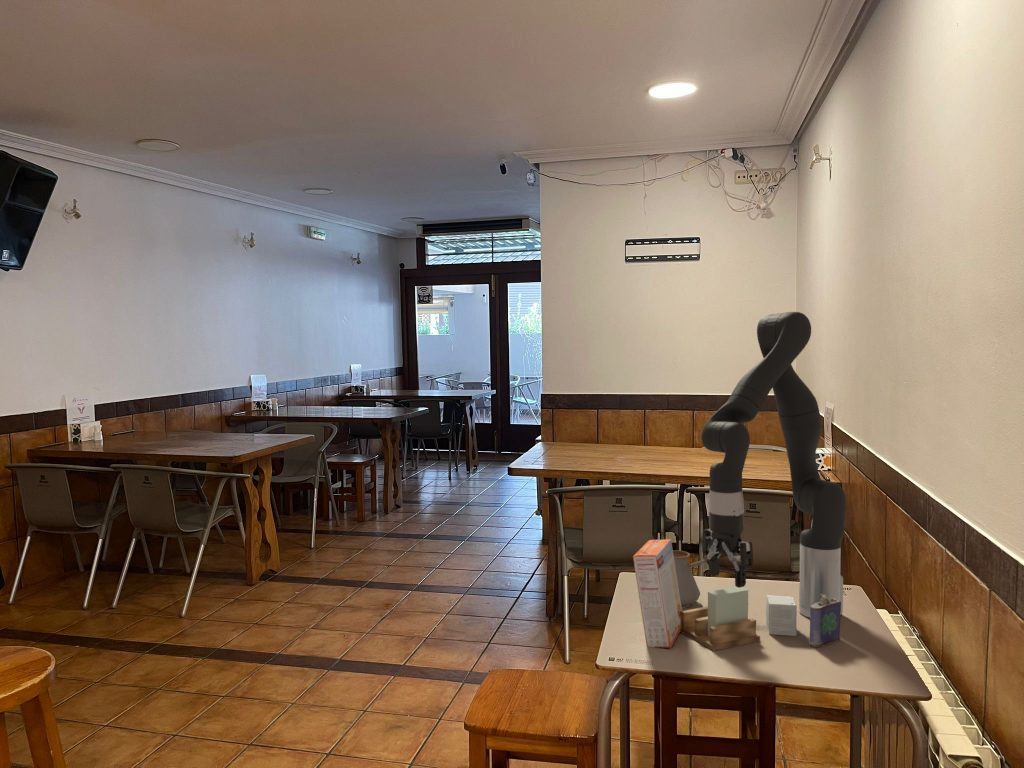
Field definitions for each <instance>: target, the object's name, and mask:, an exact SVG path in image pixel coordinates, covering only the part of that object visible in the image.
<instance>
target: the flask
mask: <svg viewBox="0 0 1024 768" xmlns="http://www.w3.org/2000/svg"><path fill="white" fill-rule="evenodd" d="M820 595H821V596H822V595H823V596H822V598H821V601H820V602H818V603H815V604H813V605H811V606H810V618H809V646H810V647H813V648H815V649H817V648H823V646H827V645H828V646H829V645H830V644H833V643H835V642H834V641H836V642H839V640H840V639H841V638H840V637H841V635H840V634H841V615H840V613H841V601H840V600H837V599H833V598H830V599H827V598H828V597H827V596H826V595H824V594H820ZM820 595H819V596H820Z"/></svg>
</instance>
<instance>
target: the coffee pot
mask: <svg viewBox="0 0 1024 768" xmlns="http://www.w3.org/2000/svg"><path fill="white" fill-rule="evenodd" d="M673 555H674V562H675V569H676V575H677V582H678V589H679V595H680V602H681V608H682V609H684V608H689V607H691V606H693V605H694V604H695V603H696V602H697V601H699V598H700V596H701V592H700V589H699V587H698V584H697V582H696V581H697V580H696V579H695V577H694V575H693V573H692V570H691V568H694V567H697V566H700V565H703V564H705V563H709V559H708V558H705V559H701V560H699V561H695V562H692V563H688V562H689V558H690V557H691V553H689V552H687V551H685V550H676V549H675V550H673ZM725 557H726V556H725V555H724V554H721V555H720V556H719V558H717V559H719V560H721V559H723V558H725Z"/></svg>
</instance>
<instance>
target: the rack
mask: <svg viewBox="0 0 1024 768" xmlns="http://www.w3.org/2000/svg"><path fill="white" fill-rule="evenodd" d="M681 621H682V628H681V631H680V633H682V632H683V633H682V634H684V635H686V636H687V637H689V638H691V639H692V638H693V640H695V641H696V642H697V641H698V642H697V643H699V644H701V645H703V646H704V647H706V648H707V649H709V650H710V651H718V650H723V649H728V648H732V647H733V648H734V647H737V646H741V645H747V644H750V643H755V642H760V641H761V636H760V635H758V634H757V620H756V619H755V618H748V620H743V621H738V622H733V623H728V624H723V625H718V626H713V627H710V636H708V605H706V606H703V607H697V608H691V609H687V610H682V611H681Z"/></svg>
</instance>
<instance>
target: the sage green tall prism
mask: <svg viewBox="0 0 1024 768" xmlns="http://www.w3.org/2000/svg"><path fill="white" fill-rule="evenodd" d="M707 606H708V636H710V627H713V626H718V625H723V624H728V623H733V622H738V621H743V620H748V619H749V589H747V588H745V587H740V588H738V587H736V586H732V587H727V588H721V589H716V590H711V591H710V590H709V591H708V592H707Z"/></svg>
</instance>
